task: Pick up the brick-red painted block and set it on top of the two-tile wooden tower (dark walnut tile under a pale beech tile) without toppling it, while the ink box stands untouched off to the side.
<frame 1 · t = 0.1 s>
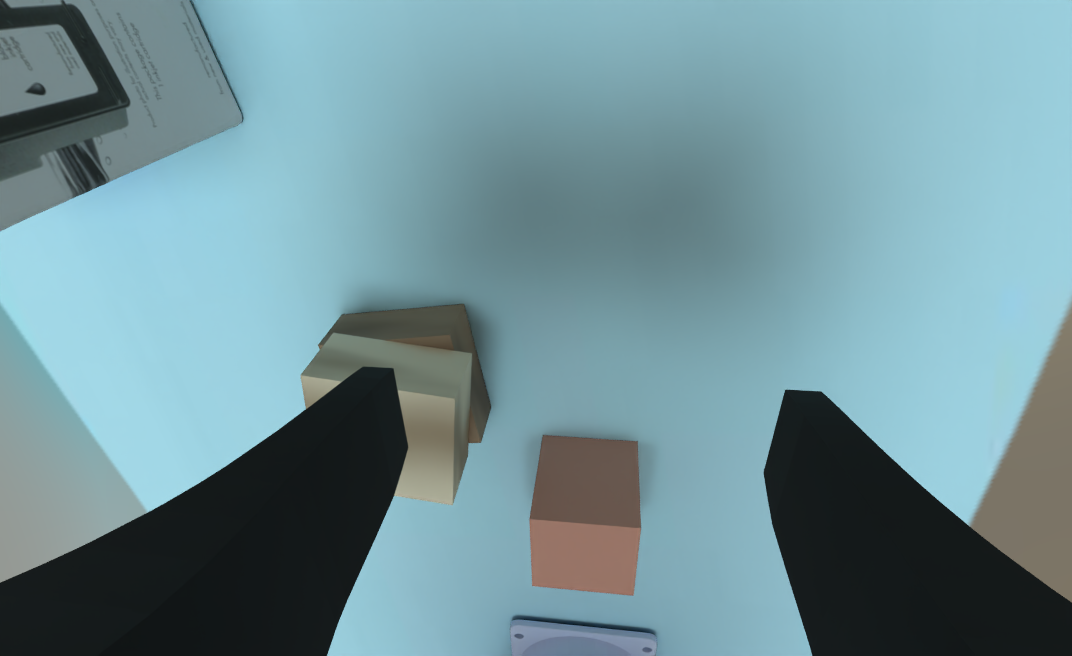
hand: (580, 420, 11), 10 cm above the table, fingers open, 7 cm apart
block: (588, 470, 26), on the table
tower top: (404, 397, 22), point 2 cm above the table, touching tower base
tower base: (421, 357, 24), on the table, touching tower top
ink box: (107, 69, 19), on the table
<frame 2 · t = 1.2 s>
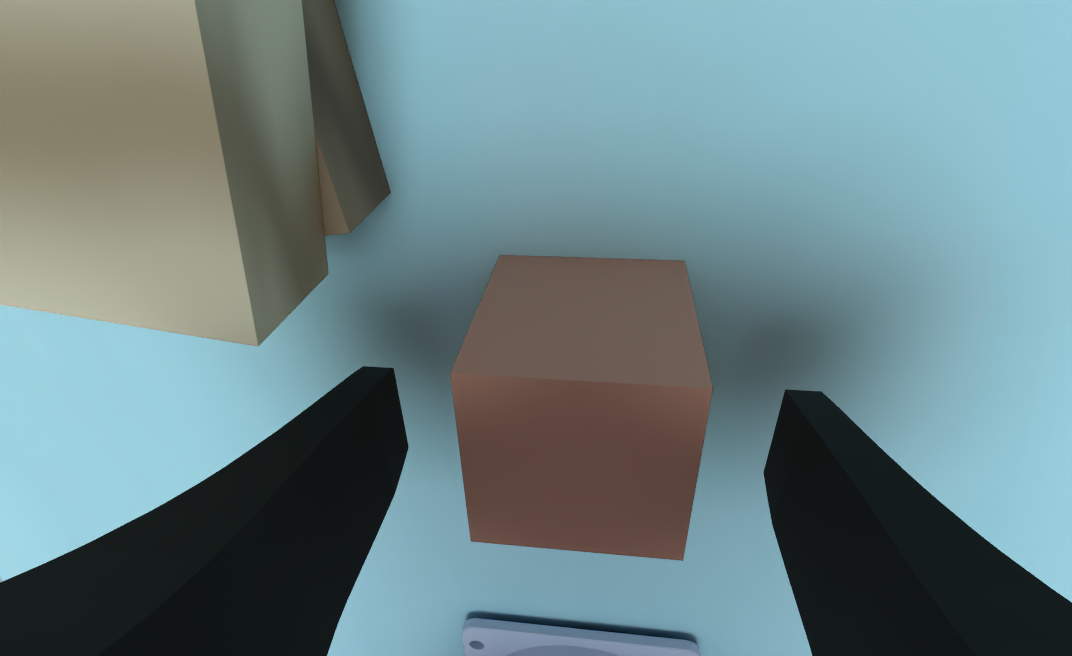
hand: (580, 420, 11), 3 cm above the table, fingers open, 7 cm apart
block: (588, 334, 14), on the table
tower top: (171, 119, 10), point 2 cm above the table
tower base: (245, 83, 12), on the table
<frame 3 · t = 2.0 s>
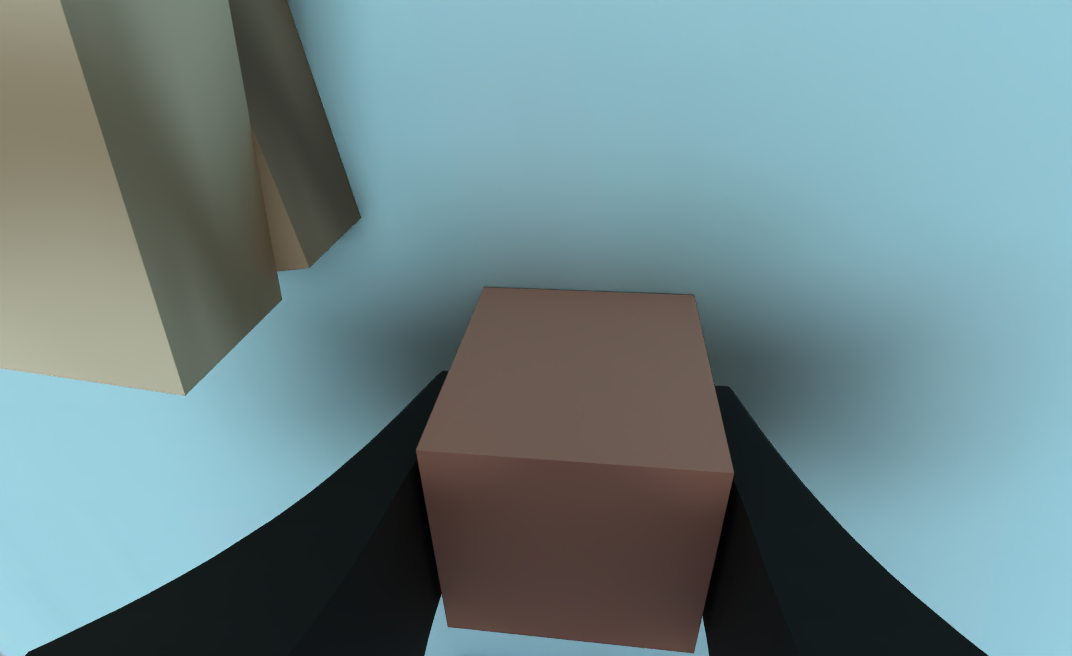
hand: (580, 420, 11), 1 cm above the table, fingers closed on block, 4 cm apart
block: (584, 375, 12), on the table, touching gripper
tower top: (85, 124, 8), point 2 cm above the table, touching tower base
tower base: (195, 94, 10), on the table, touching tower top
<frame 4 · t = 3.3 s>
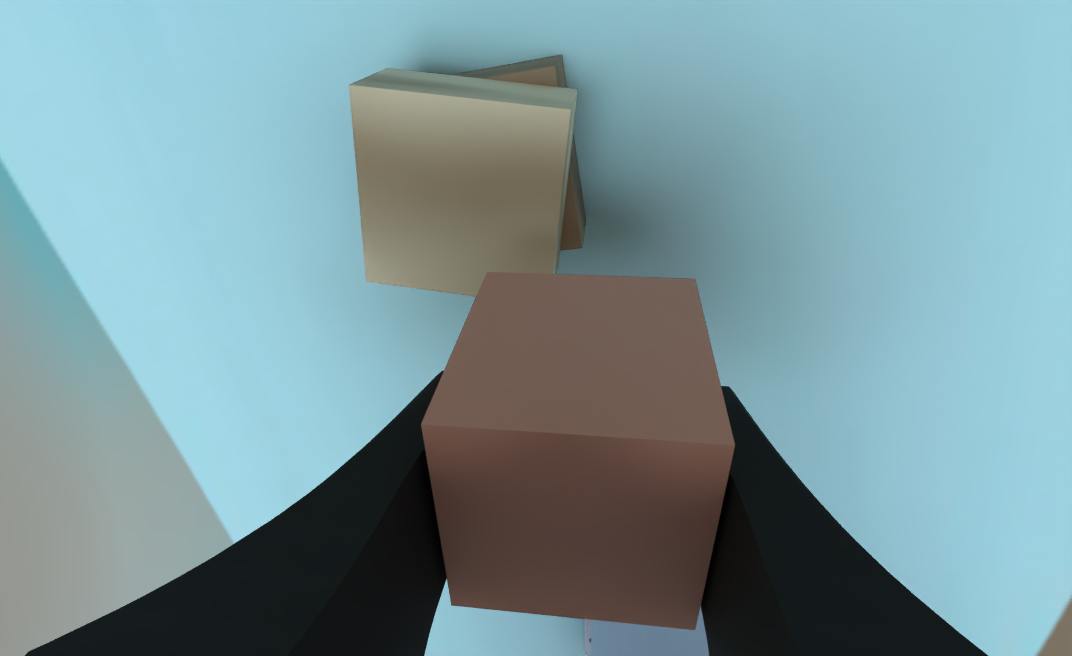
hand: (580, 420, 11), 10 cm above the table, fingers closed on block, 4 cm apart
block: (586, 360, 12), point 8 cm above the table, touching gripper
tower top: (478, 173, 16), point 2 cm above the table, touching tower base
tower base: (497, 152, 18), on the table, touching tower top
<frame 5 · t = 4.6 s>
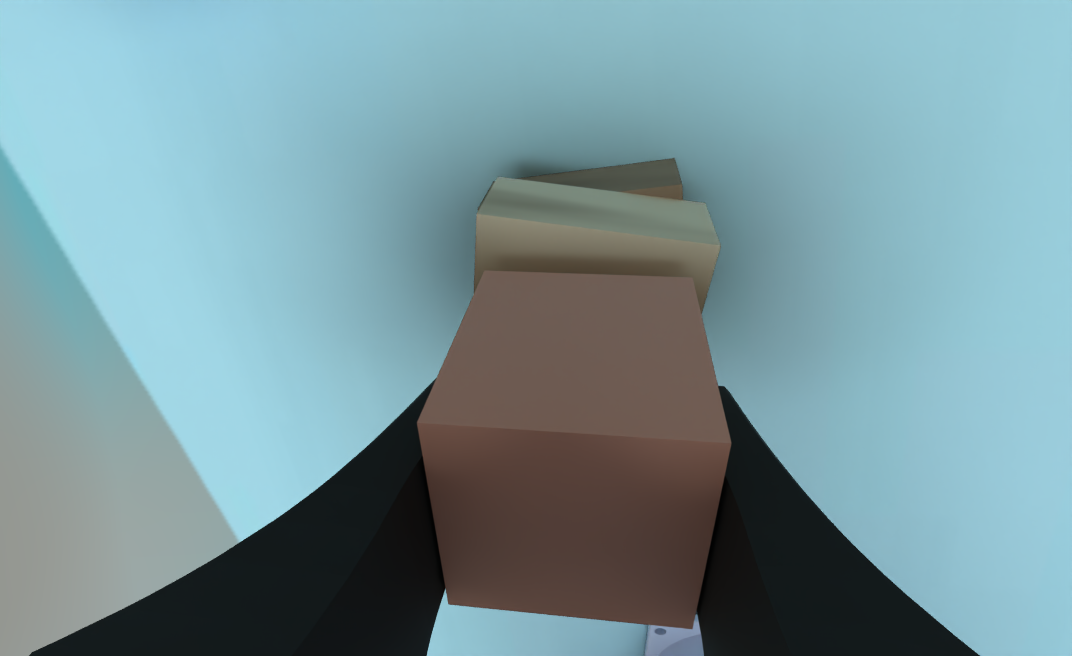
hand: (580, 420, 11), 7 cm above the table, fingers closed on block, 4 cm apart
block: (584, 359, 12), point 6 cm above the table, touching gripper
tower top: (586, 281, 15), point 2 cm above the table
tower base: (592, 248, 17), on the table
when the fingers open (7 cm above the table, at t = 4.8 s): block drops 1 cm, point 5 cm above the table.
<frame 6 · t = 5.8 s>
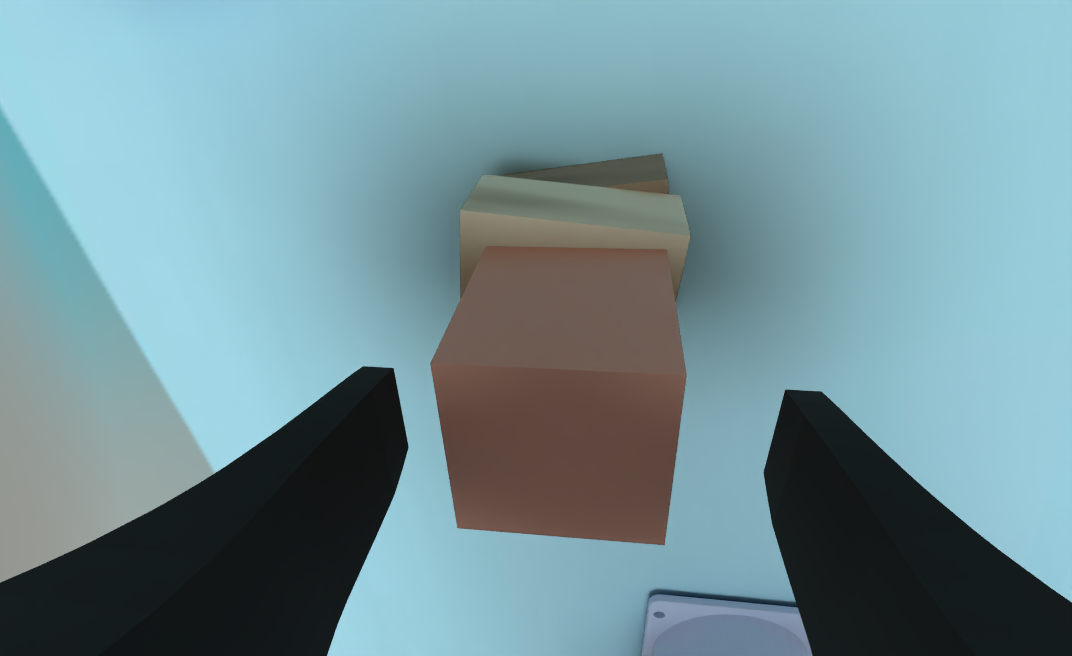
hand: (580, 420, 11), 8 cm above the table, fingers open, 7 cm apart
block: (574, 324, 14), point 5 cm above the table
tower top: (570, 272, 16), point 2 cm above the table, touching tower base
tower base: (584, 241, 18), on the table, touching tower top
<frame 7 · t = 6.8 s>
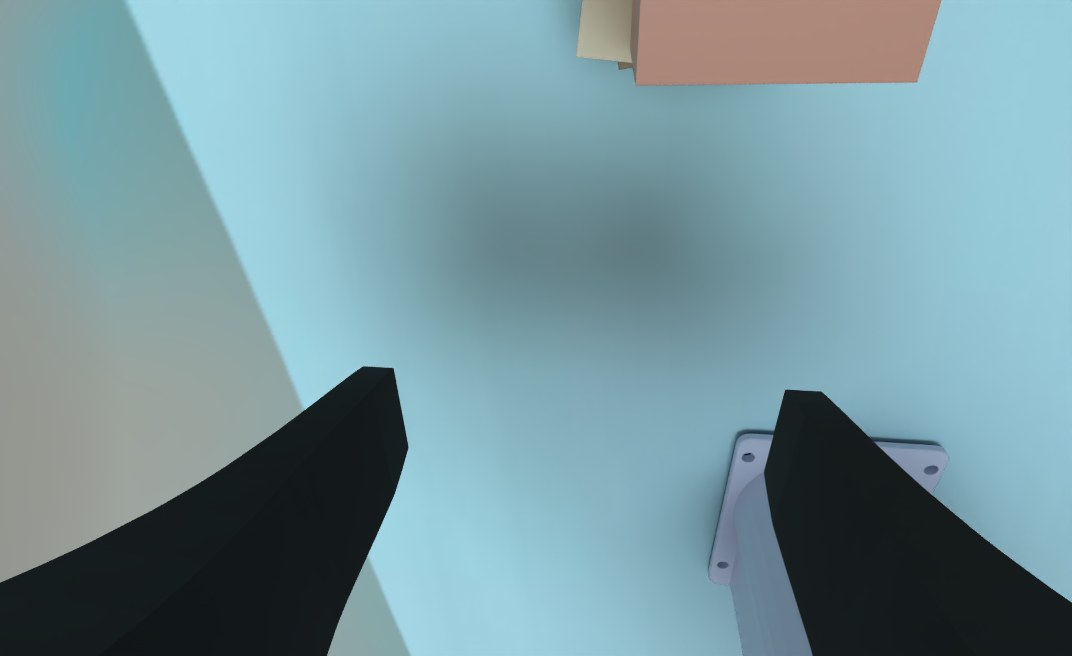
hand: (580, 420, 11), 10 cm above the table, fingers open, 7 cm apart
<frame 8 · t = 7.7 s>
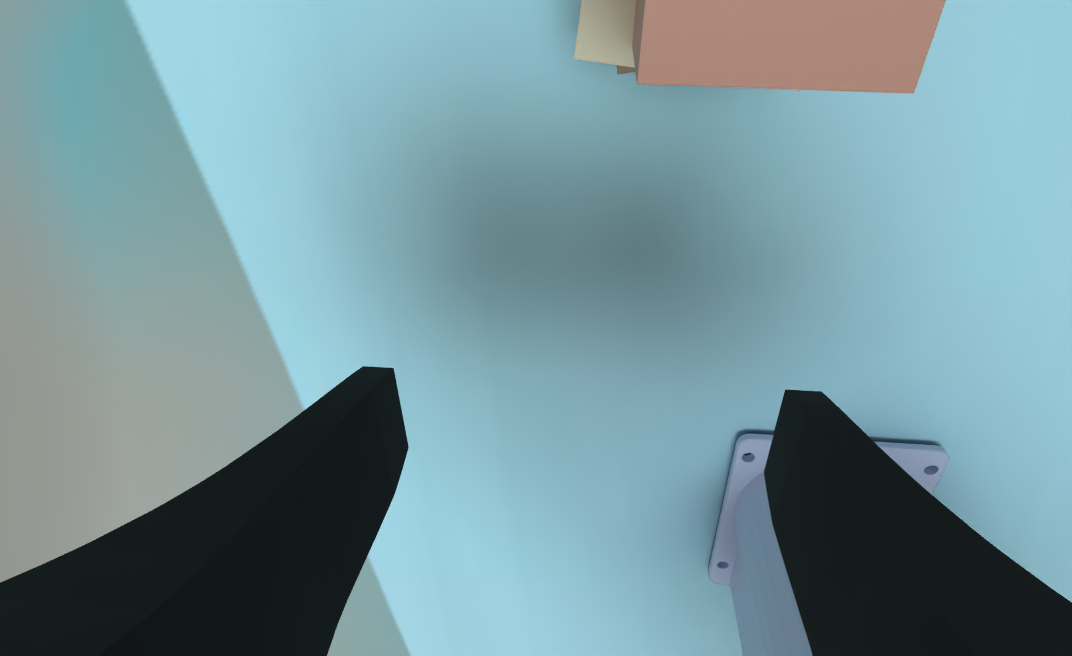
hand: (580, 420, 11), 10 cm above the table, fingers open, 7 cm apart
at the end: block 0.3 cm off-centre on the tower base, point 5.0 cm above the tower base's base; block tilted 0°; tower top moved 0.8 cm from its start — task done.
